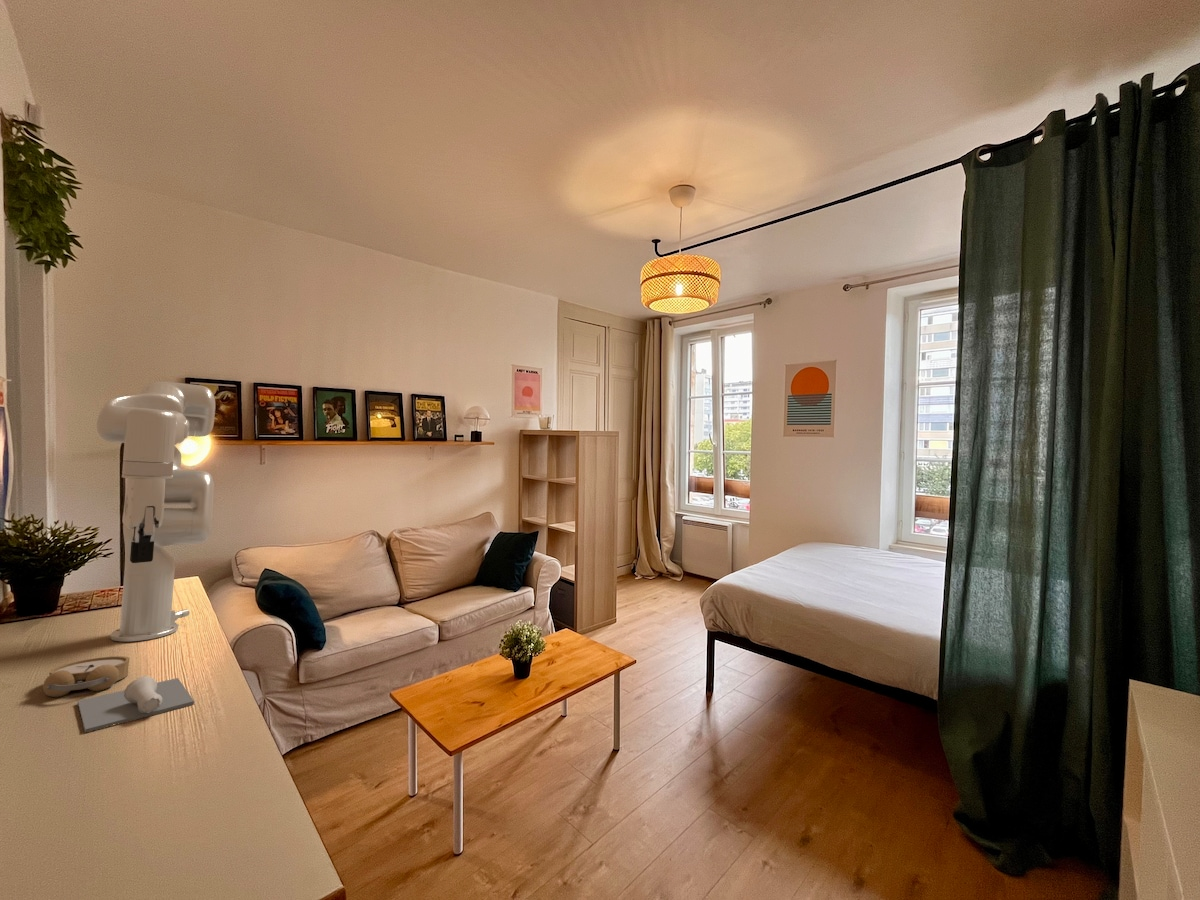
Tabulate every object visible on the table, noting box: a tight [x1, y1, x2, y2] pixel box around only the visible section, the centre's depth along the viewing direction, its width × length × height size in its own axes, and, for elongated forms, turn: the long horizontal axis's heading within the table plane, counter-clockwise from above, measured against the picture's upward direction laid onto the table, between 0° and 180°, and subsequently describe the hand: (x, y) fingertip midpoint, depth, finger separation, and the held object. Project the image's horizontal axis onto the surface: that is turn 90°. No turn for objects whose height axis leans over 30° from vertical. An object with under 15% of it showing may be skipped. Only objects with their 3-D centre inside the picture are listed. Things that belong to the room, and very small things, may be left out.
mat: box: [77, 677, 195, 734], centre depth 90 cm, size 14×14×1 cm
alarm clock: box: [42, 655, 131, 698], centre depth 97 cm, size 11×5×15 cm
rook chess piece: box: [124, 676, 162, 713], centre depth 88 cm, size 4×4×8 cm
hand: (141, 561), depth 99 cm, fingers closed
